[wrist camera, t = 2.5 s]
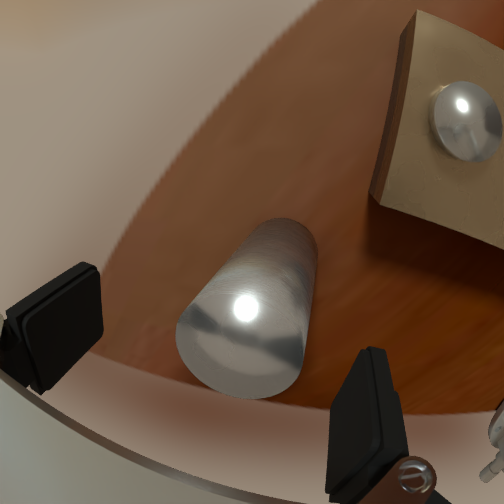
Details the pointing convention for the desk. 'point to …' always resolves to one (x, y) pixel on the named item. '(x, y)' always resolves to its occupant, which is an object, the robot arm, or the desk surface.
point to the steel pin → (253, 314)
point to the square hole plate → (445, 131)
